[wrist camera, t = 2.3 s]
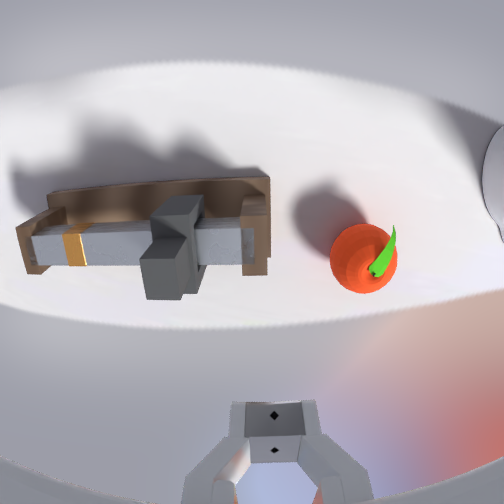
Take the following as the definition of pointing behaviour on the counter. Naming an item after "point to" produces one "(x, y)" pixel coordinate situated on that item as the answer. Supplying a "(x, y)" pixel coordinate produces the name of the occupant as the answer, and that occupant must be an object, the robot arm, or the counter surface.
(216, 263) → the grey metal bar
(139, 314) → the counter surface
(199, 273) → the grey clamp
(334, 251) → the clementine
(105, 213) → the base
